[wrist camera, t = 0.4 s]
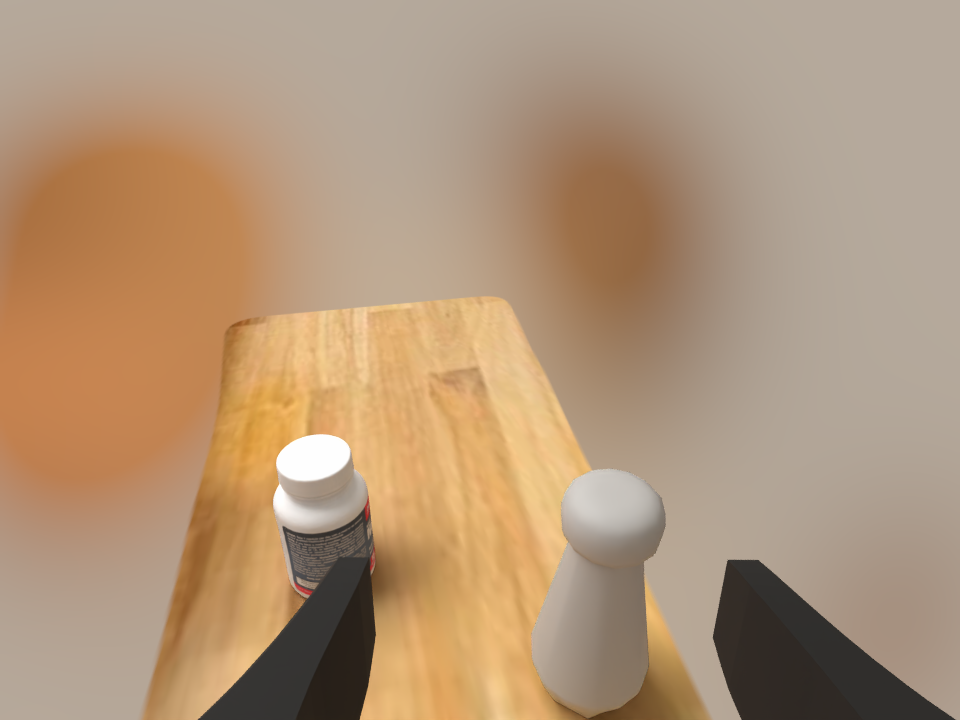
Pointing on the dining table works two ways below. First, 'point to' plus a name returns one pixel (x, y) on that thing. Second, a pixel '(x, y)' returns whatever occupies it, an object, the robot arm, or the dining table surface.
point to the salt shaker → (599, 594)
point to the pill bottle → (320, 509)
